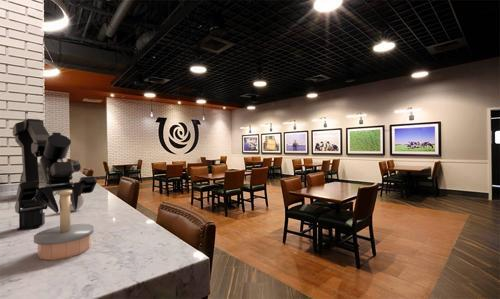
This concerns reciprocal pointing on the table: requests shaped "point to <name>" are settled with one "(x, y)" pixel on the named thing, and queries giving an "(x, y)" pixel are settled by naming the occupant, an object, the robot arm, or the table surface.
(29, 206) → the robot arm
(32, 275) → the table surface
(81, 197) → the donut
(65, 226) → the cover
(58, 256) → the bowl
